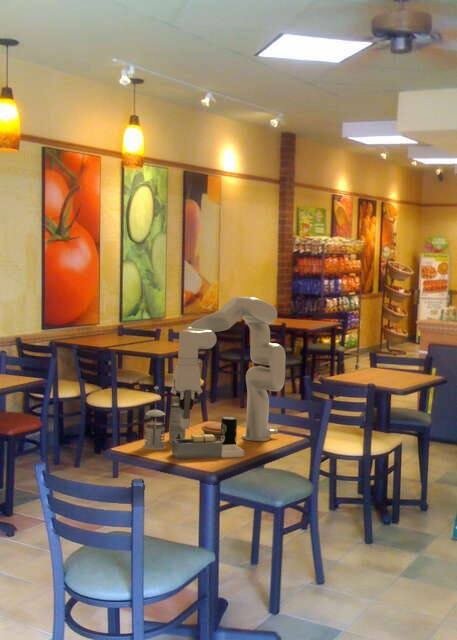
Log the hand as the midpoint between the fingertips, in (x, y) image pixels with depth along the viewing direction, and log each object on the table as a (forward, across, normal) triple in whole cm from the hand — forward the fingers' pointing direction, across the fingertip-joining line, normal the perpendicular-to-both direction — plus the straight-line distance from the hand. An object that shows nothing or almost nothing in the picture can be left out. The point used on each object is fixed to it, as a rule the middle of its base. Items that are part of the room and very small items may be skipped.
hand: (185, 408), depth 299 cm
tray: (+19, -19, -1) cm, 27 cm away
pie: (+19, -25, -33) cm, 46 cm away
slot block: (+19, -5, 0) cm, 20 cm away
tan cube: (+15, -5, 0) cm, 16 cm away
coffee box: (+19, -4, -25) cm, 32 cm away
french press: (+19, +8, -17) cm, 27 cm away
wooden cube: (+15, -10, 0) cm, 18 cm away
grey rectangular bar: (+8, 0, -1) cm, 8 cm away
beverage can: (+19, -23, -14) cm, 33 cm away
